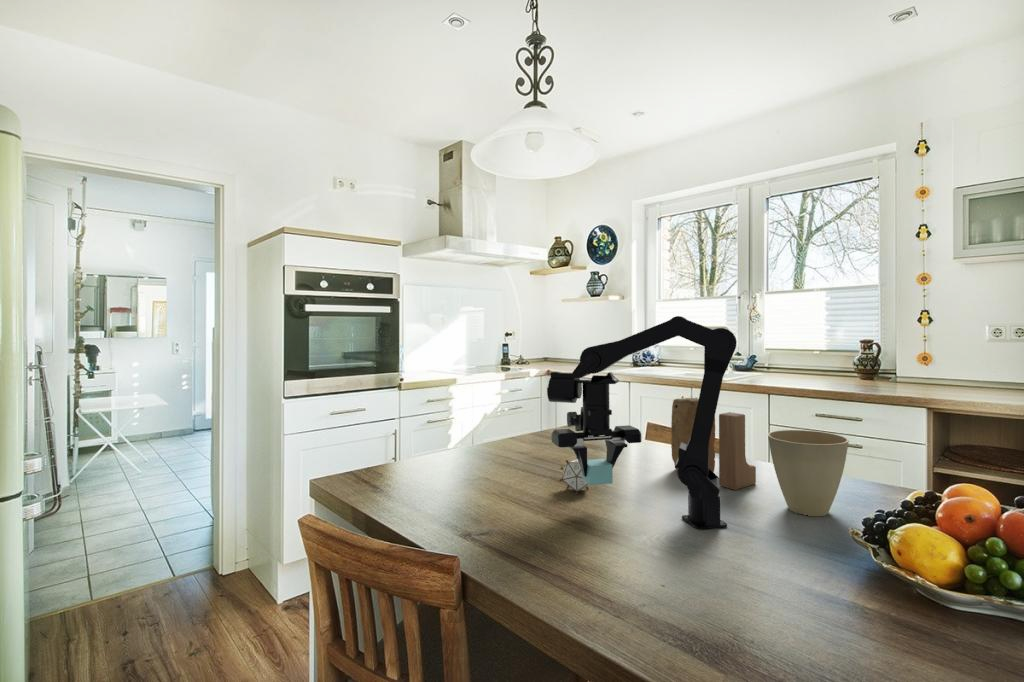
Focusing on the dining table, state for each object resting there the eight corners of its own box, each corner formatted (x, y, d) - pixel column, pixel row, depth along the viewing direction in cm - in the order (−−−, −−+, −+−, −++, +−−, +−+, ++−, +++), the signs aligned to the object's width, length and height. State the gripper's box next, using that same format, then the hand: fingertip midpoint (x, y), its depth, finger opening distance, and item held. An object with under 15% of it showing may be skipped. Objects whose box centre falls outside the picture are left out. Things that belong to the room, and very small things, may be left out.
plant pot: (804, 495, 119) (804, 427, 118) (866, 518, 104) (866, 440, 104) (752, 503, 114) (752, 432, 114) (809, 527, 100) (809, 446, 99)
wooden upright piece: (668, 470, 141) (668, 398, 141) (684, 465, 146) (684, 395, 145) (704, 479, 132) (703, 402, 132) (720, 473, 137) (719, 399, 137)
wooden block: (739, 479, 132) (739, 410, 131) (756, 484, 128) (756, 412, 127) (718, 486, 127) (718, 413, 126) (735, 490, 123) (734, 416, 122)
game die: (574, 503, 126) (575, 464, 132) (602, 497, 121) (602, 457, 127) (550, 492, 121) (552, 452, 127) (579, 485, 116) (579, 445, 122)
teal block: (612, 483, 109) (612, 464, 109) (590, 485, 108) (590, 466, 108) (603, 476, 114) (603, 458, 114) (582, 478, 113) (582, 460, 113)
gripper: (620, 397, 120) (621, 463, 121) (544, 400, 117) (545, 468, 117) (642, 404, 110) (642, 476, 110) (558, 408, 106) (559, 482, 106)
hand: (596, 475), depth 111 cm, fingers closed on teal block, 5 cm apart
